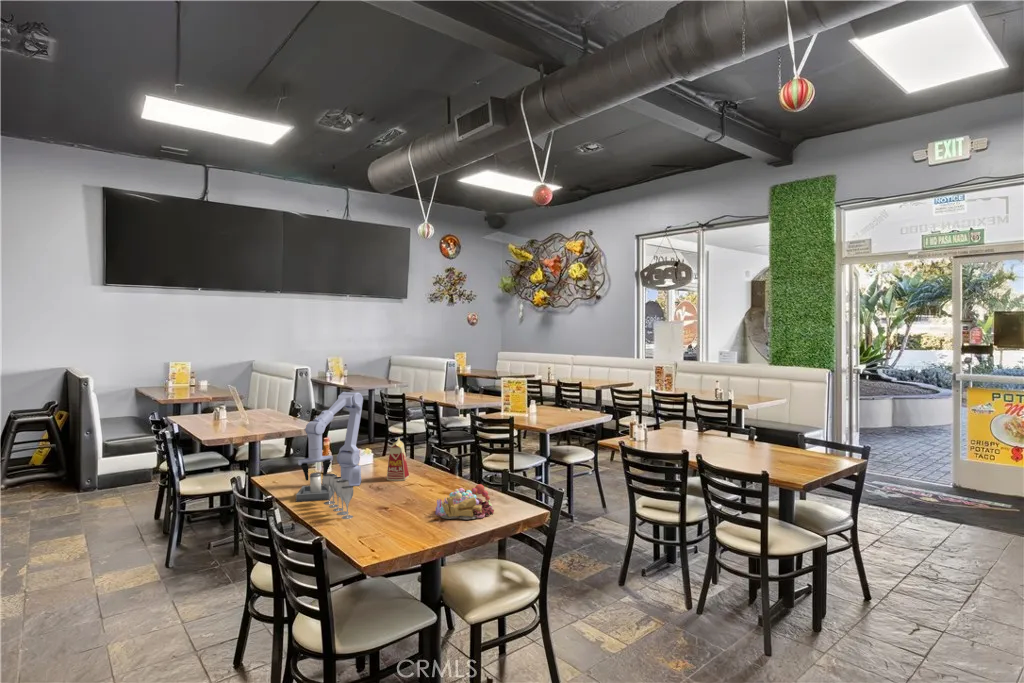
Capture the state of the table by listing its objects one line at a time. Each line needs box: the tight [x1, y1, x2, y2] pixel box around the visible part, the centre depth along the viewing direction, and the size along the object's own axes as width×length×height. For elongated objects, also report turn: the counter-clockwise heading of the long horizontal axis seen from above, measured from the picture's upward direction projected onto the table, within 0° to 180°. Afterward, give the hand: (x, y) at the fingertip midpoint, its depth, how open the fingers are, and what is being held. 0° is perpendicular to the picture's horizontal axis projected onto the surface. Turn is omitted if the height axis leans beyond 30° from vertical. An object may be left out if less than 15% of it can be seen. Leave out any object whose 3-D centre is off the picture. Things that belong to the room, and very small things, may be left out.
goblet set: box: [321, 473, 354, 520], centre depth 224 cm, size 28×6×13 cm, turn 36°
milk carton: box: [386, 437, 410, 482], centre depth 271 cm, size 9×9×20 cm
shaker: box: [309, 471, 322, 493], centre depth 242 cm, size 5×5×9 cm
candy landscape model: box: [435, 483, 495, 520], centre depth 221 cm, size 25×24×9 cm
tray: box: [295, 484, 333, 503], centre depth 242 cm, size 14×14×3 cm
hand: (315, 478), depth 242 cm, fingers open, 7 cm apart
